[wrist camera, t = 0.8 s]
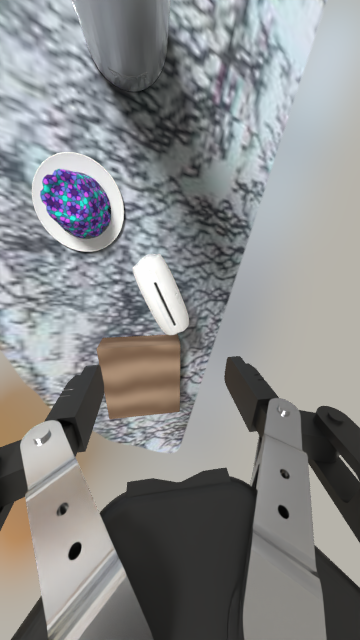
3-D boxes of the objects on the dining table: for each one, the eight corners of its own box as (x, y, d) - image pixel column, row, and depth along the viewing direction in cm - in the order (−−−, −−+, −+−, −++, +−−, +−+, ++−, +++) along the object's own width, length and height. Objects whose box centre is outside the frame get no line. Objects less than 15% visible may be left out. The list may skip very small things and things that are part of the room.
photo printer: (135, 259, 30) (123, 267, 18) (159, 248, 29) (162, 249, 18) (161, 313, 34) (165, 347, 22) (182, 304, 33) (197, 333, 22)
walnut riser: (102, 337, 34) (96, 349, 30) (177, 334, 36) (180, 344, 32) (113, 403, 40) (109, 419, 36) (177, 397, 42) (179, 411, 38)
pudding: (35, 239, 27) (9, 237, 22) (34, 139, 23) (2, 111, 18) (118, 260, 30) (111, 263, 25) (130, 173, 26) (125, 156, 21)
